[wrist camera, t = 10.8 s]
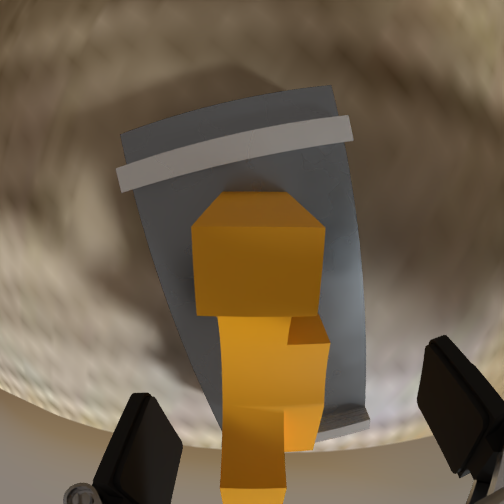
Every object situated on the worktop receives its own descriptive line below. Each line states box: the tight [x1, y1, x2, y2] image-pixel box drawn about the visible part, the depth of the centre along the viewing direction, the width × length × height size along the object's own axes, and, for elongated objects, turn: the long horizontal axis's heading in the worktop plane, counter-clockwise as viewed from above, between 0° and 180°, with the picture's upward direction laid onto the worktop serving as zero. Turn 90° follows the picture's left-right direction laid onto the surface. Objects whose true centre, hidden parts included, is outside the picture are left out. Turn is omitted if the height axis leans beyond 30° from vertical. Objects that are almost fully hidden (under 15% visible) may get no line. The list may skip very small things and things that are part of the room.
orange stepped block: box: [191, 191, 331, 504], centre depth 11 cm, size 12×4×6 cm, turn 0°
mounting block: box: [116, 85, 370, 447], centre depth 15 cm, size 9×20×6 cm, turn 12°
